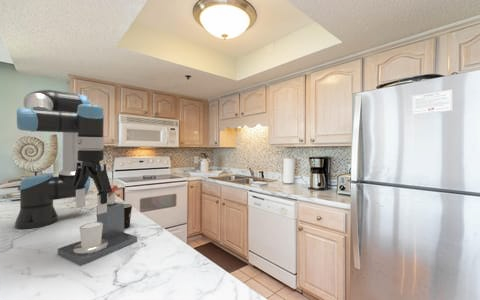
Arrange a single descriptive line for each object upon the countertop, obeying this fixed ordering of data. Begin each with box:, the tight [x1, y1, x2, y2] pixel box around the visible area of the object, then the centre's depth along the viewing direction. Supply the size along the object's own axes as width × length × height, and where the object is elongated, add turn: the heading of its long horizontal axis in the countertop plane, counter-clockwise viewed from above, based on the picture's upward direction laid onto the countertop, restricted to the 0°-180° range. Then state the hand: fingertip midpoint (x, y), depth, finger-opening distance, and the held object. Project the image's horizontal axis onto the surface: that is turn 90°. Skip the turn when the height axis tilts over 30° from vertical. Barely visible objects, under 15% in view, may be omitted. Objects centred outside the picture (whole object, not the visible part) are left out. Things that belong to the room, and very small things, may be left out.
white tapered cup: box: [79, 221, 103, 249], centre depth 76 cm, size 7×7×7 cm
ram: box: [107, 184, 119, 206], centre depth 88 cm, size 5×5×12 cm
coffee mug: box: [123, 203, 133, 230], centre depth 102 cm, size 12×9×10 cm
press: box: [57, 201, 138, 266], centre depth 81 cm, size 15×20×14 cm
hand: (90, 209), depth 76 cm, fingers open, 13 cm apart
